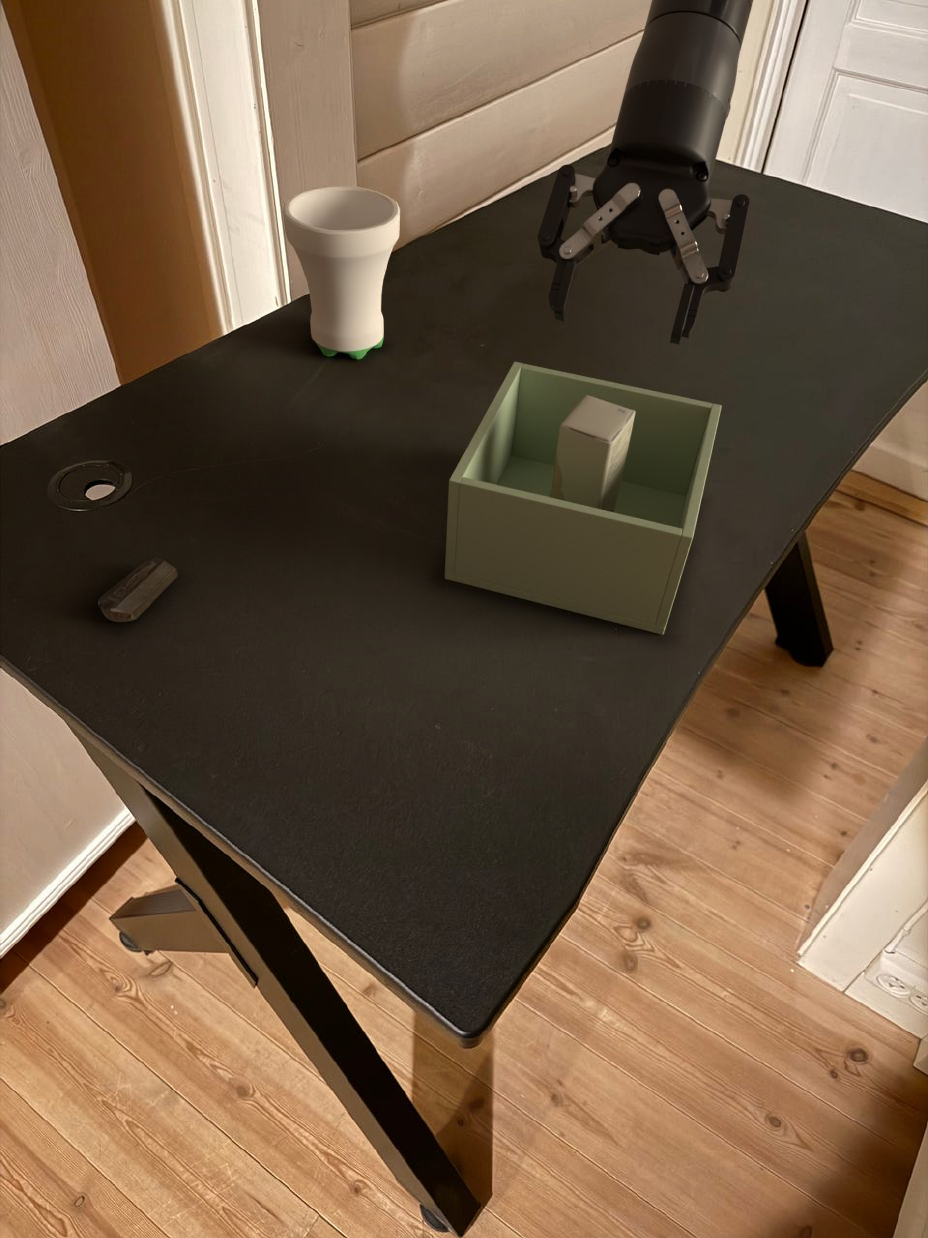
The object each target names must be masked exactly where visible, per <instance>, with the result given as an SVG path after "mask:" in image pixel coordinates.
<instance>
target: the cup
mask: <svg viewBox="0 0 928 1238" xmlns="http://www.w3.org/2000/svg"><path fill="white" fill-rule="evenodd" d="M282 215H283V224H284V225H283V226H284V232H285V236H286V239H287V241H288V243H289V244H290V246H292V248H293V250H294V252H295V254H296V256H297V259H298V261H299V263H300V266H301V269H302V272H303V274H304V277H305V280H306V283H307V288H308V292H309V299H310V305H311V306H310V307H311V314H310V320H309V324H310V335H311V339H312V340H313V341H314V342H315V344H316V345H317V347H318V348H319V350H320V351H321V353H322V355H323V356H326V357H333V356H336V355H337V354H338V353H344V354H347V355H348V356H349V357H350V358H351V359H355V360H361V359H363V358H364V357H365V356H366V355H367V352H369V351H370V350H371V349H379V348H381V347H382V346H383V342H384V335H385V333H384V331H385V330H384V329H385V327H384V325H385V324H384V322H385V321H384V315H383V312H382V293H383V284H384V278H385V275H386V271H387V266H388V263H389V260H390V257H391V254H392V253H393V252H392V251H393V248H394V247H395V245H396V244H397V242H398V240H399V238H400V230H401V229H400V227H401V225H400V224H401V222H400V221H401V208H400V206H399V204H398V201H396V200H394V199H393V198H391V197H390V196H389V195H386V194H385V193H382V192H380V191H377V190H375V189H370V188H367V187H361V186H356V185H326V186H325V185H324V186H320V187H315V188H309V189H306V190H302V191H298V192H297V193H295V194H294V195H293V196H291V197H289V199H288V200H287V201H286V202H285V203H284V204H283V207H282Z"/></svg>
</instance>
